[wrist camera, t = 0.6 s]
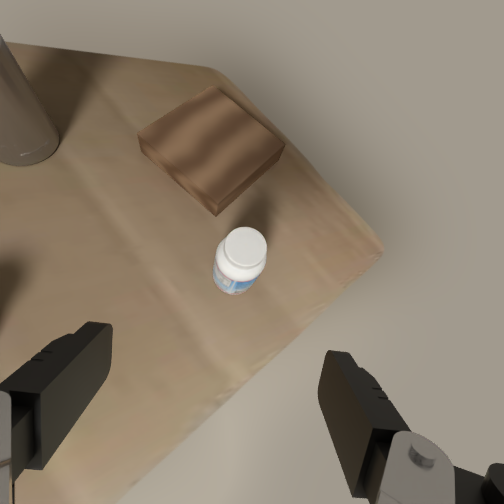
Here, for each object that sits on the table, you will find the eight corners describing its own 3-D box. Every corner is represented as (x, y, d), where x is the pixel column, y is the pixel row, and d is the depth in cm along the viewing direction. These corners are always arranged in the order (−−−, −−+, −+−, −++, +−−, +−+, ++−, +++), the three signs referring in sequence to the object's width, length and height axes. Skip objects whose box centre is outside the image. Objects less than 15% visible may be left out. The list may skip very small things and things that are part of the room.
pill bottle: (256, 258, 42) (276, 226, 32) (250, 298, 40) (271, 277, 29) (215, 250, 41) (223, 215, 31) (208, 291, 39) (213, 267, 29)
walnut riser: (141, 151, 45) (136, 133, 41) (211, 104, 51) (212, 84, 47) (215, 216, 43) (218, 203, 39) (278, 160, 49) (285, 144, 46)
